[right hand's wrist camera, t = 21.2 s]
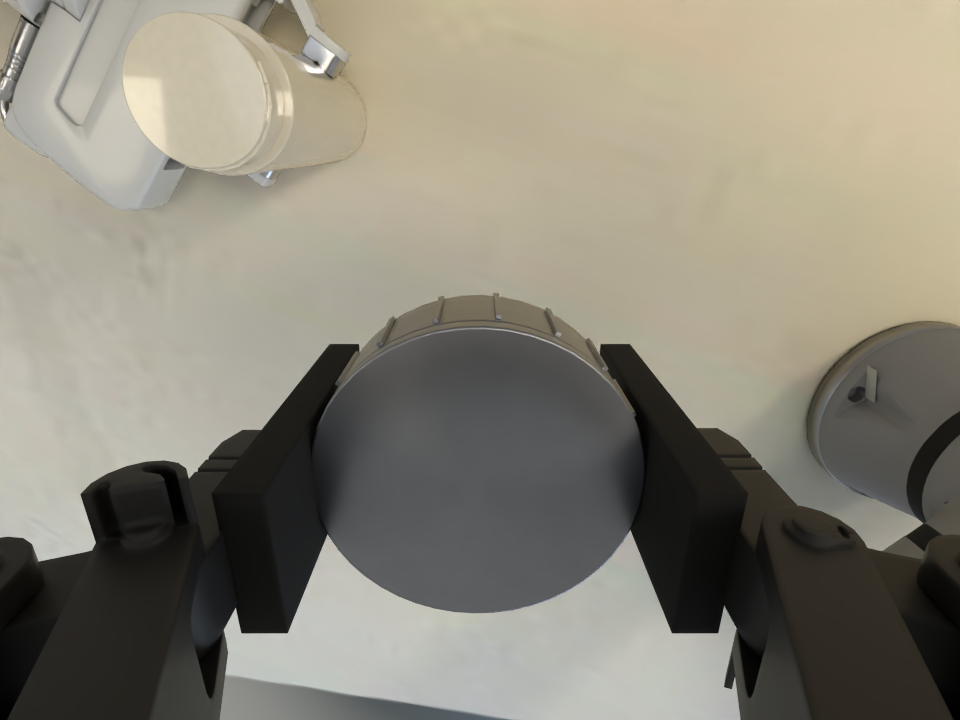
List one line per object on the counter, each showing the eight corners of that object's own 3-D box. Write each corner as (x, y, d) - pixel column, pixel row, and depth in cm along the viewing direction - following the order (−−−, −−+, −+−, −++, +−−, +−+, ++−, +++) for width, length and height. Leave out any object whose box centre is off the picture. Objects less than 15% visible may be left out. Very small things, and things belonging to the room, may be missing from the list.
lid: (368, 253, 11) (342, 276, 9) (666, 340, 11) (709, 382, 9) (311, 508, 13) (279, 575, 11) (564, 569, 14) (579, 643, 12)
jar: (301, 173, 36) (161, 197, 20) (267, 85, 34) (77, 29, 18) (378, 148, 36) (302, 153, 19) (348, 57, 34) (232, -26, 17)
